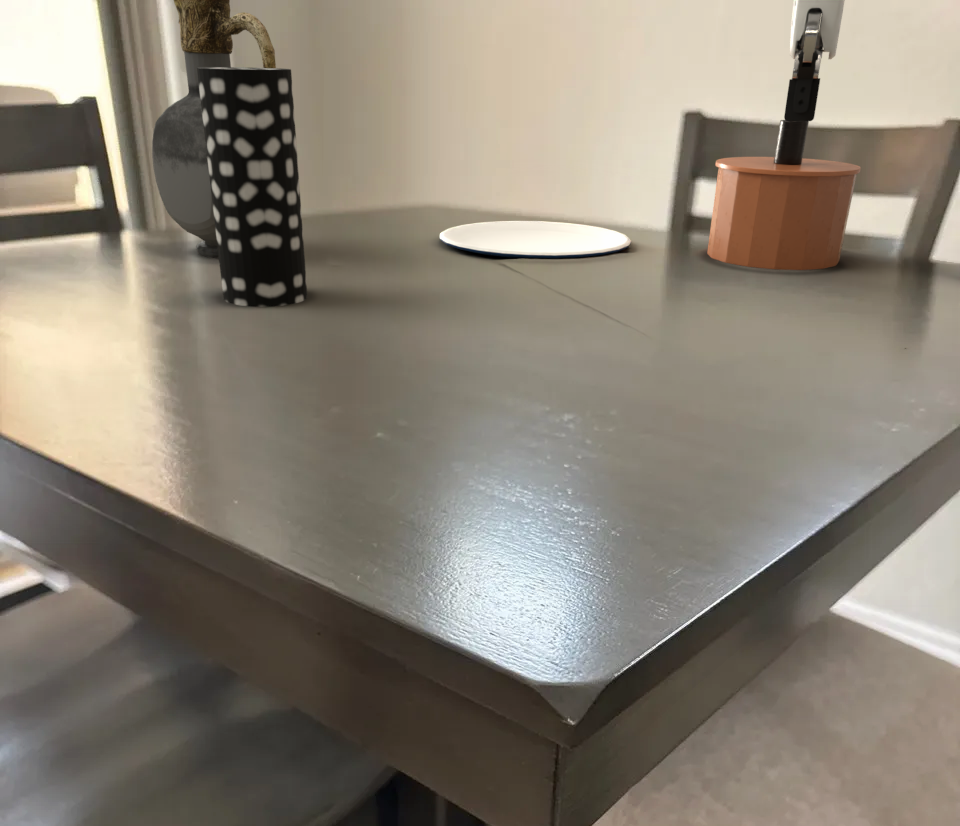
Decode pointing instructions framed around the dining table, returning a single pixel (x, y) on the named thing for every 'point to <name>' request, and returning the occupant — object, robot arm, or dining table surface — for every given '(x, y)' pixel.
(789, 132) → the lid
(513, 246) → the plate
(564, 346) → the dining table surface
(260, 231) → the white-spotted black cylinder
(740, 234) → the pot
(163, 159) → the pitcher
